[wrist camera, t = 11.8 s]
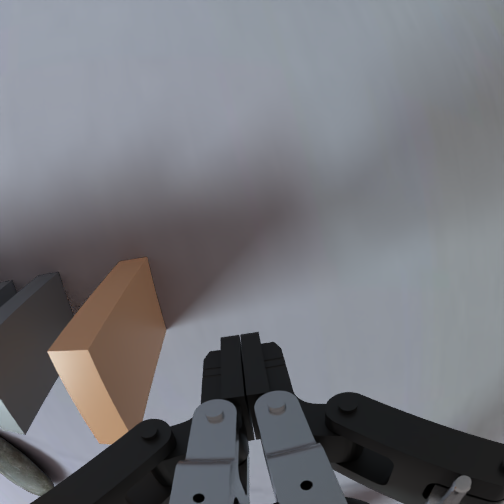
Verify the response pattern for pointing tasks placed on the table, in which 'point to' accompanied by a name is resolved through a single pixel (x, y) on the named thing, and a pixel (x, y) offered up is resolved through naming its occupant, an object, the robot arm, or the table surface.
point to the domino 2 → (113, 350)
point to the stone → (22, 470)
